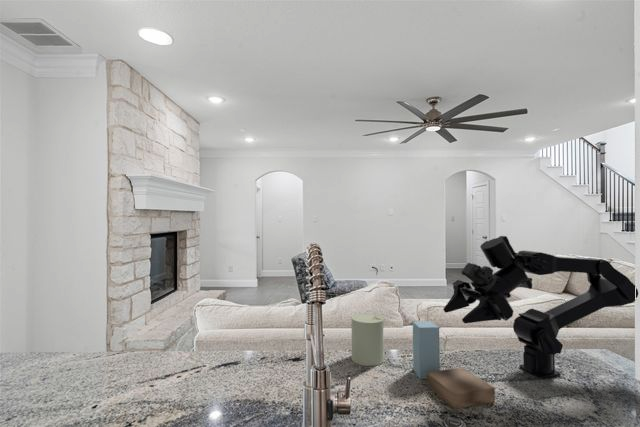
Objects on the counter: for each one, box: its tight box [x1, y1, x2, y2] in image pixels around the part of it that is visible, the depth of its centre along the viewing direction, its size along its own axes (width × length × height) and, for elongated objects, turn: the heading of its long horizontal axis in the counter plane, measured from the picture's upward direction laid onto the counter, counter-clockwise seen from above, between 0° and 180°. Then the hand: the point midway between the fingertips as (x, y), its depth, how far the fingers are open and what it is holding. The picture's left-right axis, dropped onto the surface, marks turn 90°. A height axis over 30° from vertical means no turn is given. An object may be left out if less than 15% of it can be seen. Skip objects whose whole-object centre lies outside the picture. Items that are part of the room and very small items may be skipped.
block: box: [412, 320, 441, 380], centre depth 81 cm, size 5×5×12 cm
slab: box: [426, 367, 496, 409], centre depth 72 cm, size 10×10×3 cm
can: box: [350, 312, 385, 367], centre depth 90 cm, size 9×9×12 cm
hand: (453, 316), depth 80 cm, fingers open, 9 cm apart
